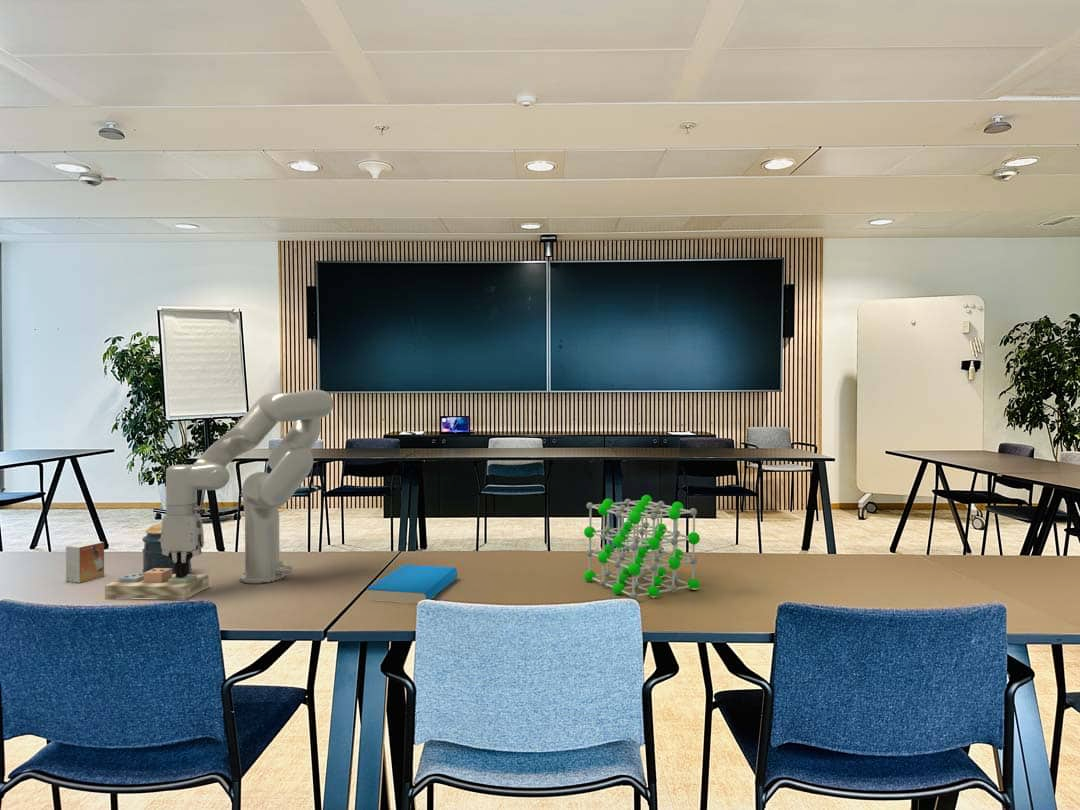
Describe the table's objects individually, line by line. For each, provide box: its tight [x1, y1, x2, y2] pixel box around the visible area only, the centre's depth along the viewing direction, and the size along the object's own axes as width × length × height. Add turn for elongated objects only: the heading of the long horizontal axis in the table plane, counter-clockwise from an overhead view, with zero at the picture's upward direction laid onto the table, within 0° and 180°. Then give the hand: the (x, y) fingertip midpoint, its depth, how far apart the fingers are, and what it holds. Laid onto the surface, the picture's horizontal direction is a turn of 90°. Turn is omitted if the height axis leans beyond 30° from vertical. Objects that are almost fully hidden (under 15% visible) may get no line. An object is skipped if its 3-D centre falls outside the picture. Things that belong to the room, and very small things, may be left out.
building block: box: [118, 572, 144, 583], centre depth 188 cm, size 5×5×3 cm
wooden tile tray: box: [104, 572, 210, 601], centre depth 188 cm, size 22×12×4 cm, turn 87°
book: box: [366, 564, 458, 603], centre depth 191 cm, size 17×4×25 cm
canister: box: [141, 519, 192, 574], centre depth 205 cm, size 13×13×18 cm
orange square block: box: [144, 568, 172, 583], centre depth 188 cm, size 5×5×3 cm
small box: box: [65, 540, 105, 584], centre depth 201 cm, size 8×6×10 cm
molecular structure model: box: [583, 494, 701, 600], centre depth 195 cm, size 24×25×24 cm
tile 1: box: [168, 573, 197, 584], centre depth 187 cm, size 5×5×3 cm
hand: (181, 576), depth 187 cm, fingers closed
